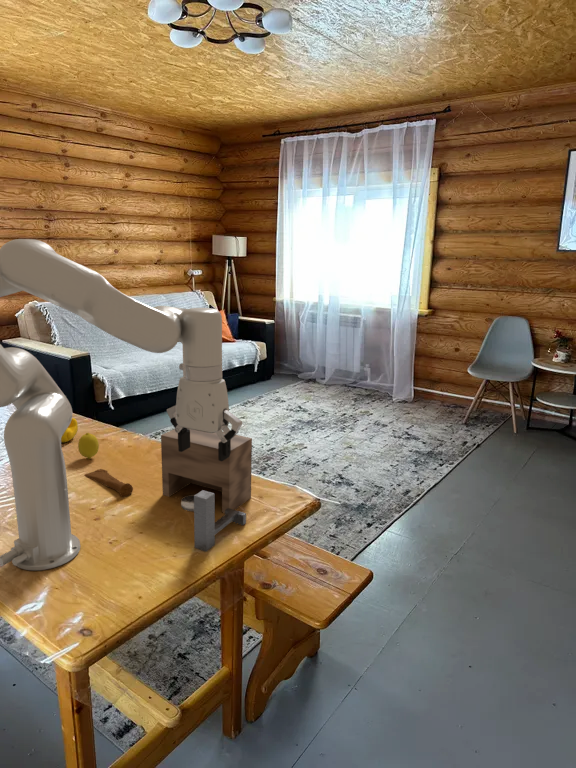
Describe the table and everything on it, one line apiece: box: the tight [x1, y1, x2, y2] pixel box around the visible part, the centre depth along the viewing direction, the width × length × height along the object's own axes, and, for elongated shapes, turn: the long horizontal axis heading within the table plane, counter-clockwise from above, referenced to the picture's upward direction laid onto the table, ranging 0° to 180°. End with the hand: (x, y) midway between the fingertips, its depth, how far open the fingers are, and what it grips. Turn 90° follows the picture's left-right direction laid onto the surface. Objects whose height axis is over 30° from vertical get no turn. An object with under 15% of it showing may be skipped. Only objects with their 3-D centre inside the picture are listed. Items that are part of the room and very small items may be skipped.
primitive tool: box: [84, 468, 134, 498], centre depth 139 cm, size 19×6×4 cm, turn 48°
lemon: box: [77, 432, 100, 460], centre depth 154 cm, size 6×6×8 cm
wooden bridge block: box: [160, 428, 253, 514], centre depth 132 cm, size 10×20×16 cm, turn 63°
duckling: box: [61, 417, 79, 444], centre depth 166 cm, size 11×5×10 cm, turn 164°
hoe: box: [193, 489, 247, 552], centre depth 115 cm, size 14×5×12 cm, turn 153°
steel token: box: [180, 494, 195, 512], centre depth 129 cm, size 6×6×2 cm
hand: (204, 454), depth 108 cm, fingers open, 9 cm apart
